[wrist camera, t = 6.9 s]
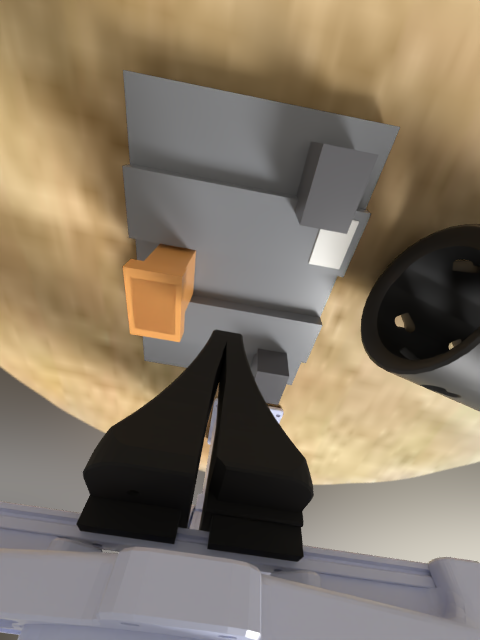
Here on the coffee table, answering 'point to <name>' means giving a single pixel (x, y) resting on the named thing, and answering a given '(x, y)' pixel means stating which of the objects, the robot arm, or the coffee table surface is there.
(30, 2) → the coffee table surface
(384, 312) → the muzzle brake
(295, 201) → the box
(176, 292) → the handle
